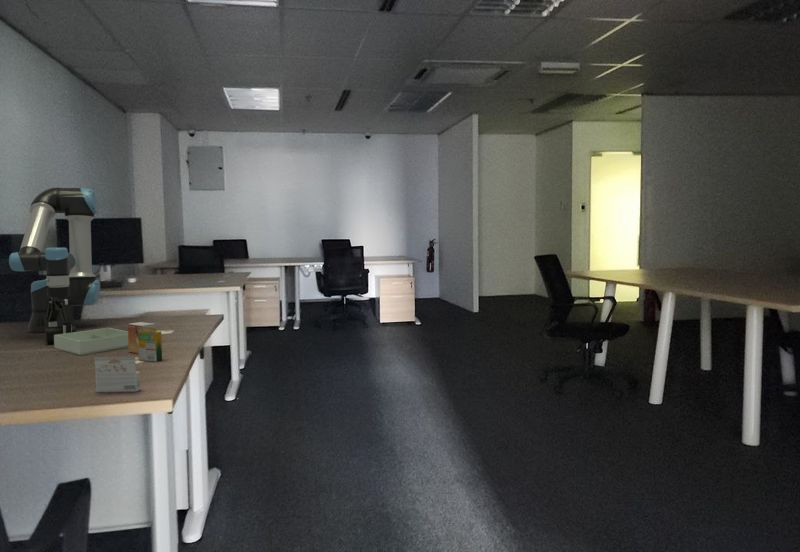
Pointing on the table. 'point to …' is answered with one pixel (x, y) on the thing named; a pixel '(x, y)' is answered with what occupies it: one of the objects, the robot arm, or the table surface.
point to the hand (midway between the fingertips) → (60, 339)
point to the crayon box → (149, 344)
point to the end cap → (55, 333)
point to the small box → (136, 334)
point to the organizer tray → (91, 341)
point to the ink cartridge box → (116, 375)
